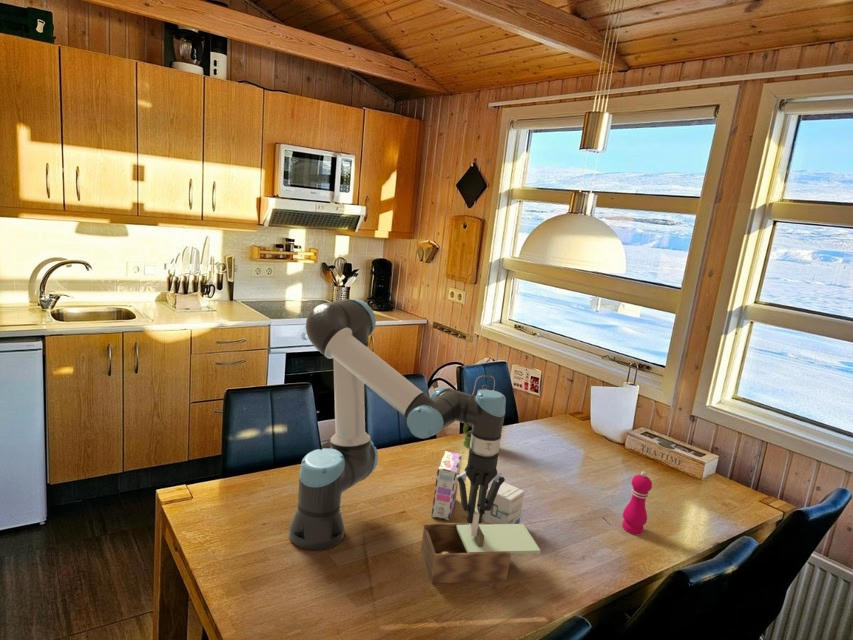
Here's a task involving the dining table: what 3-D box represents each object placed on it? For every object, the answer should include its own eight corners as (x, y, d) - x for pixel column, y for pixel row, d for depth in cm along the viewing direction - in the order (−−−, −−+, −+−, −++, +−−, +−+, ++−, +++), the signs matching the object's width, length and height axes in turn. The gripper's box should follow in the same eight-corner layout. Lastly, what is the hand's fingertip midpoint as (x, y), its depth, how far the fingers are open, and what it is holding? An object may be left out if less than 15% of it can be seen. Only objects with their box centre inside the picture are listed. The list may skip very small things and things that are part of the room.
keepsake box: (431, 585, 142) (435, 555, 140) (420, 551, 155) (424, 523, 153) (506, 583, 146) (511, 553, 144) (489, 550, 159) (493, 522, 158)
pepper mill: (629, 536, 175) (641, 477, 171) (615, 523, 182) (627, 466, 178) (648, 535, 177) (661, 477, 173) (635, 522, 184) (646, 465, 180)
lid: (468, 555, 143) (470, 541, 142) (456, 527, 155) (457, 514, 154) (539, 553, 147) (542, 540, 146) (522, 526, 159) (524, 514, 158)
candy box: (449, 521, 171) (456, 472, 168) (430, 517, 172) (437, 468, 169) (456, 499, 185) (462, 453, 181) (438, 496, 186) (444, 449, 182)
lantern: (465, 451, 222) (475, 379, 216) (455, 440, 232) (465, 370, 226) (497, 450, 226) (508, 379, 220) (486, 439, 236) (496, 371, 230)
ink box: (496, 513, 180) (501, 479, 177) (519, 524, 174) (525, 490, 172) (481, 522, 173) (486, 488, 171) (505, 535, 168) (510, 499, 165)
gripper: (463, 456, 139) (451, 542, 144) (513, 457, 142) (500, 541, 146) (455, 443, 146) (445, 525, 151) (503, 444, 149) (491, 525, 154)
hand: (472, 533), depth 149 cm, fingers closed
